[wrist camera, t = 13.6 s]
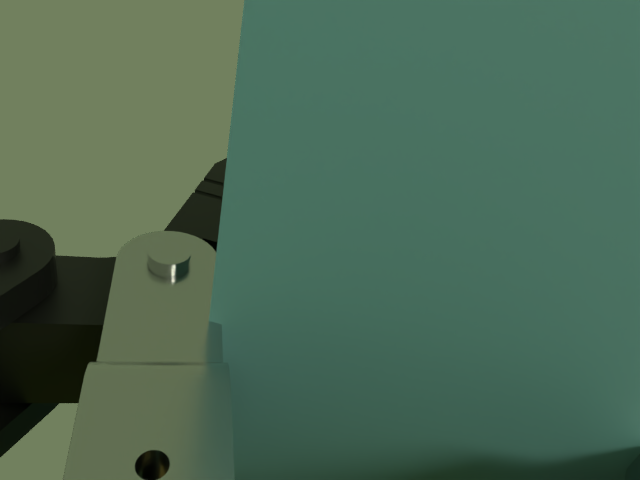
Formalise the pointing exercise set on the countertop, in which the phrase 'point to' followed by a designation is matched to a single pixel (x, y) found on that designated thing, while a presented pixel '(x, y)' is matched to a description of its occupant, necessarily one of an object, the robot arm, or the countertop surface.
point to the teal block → (433, 240)
